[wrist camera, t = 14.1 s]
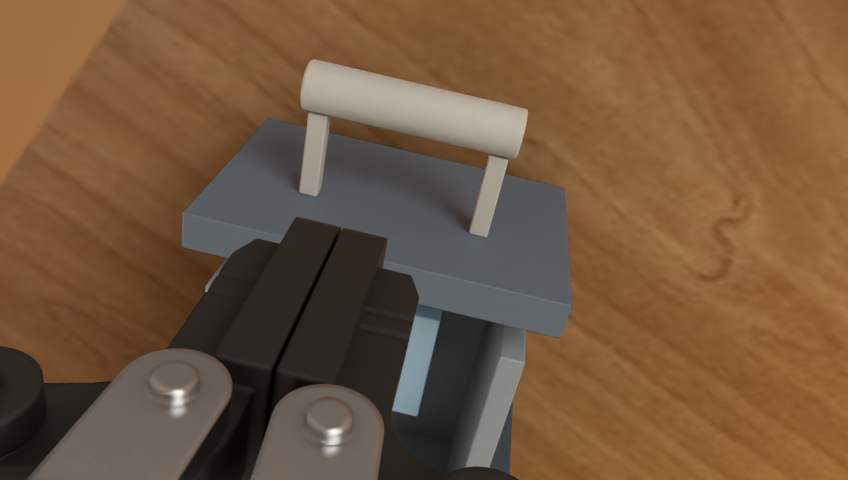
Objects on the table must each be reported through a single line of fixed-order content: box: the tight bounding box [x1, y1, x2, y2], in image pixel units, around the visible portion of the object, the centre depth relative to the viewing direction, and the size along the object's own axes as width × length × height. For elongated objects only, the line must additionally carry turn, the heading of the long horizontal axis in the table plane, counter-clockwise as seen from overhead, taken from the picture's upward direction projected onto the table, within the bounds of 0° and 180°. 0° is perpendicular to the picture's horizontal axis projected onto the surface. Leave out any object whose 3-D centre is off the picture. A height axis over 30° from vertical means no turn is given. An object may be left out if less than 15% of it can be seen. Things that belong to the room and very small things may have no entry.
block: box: [392, 304, 442, 416], centre depth 28 cm, size 4×4×4 cm
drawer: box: [182, 59, 572, 476], centre depth 27 cm, size 18×11×8 cm, turn 169°
